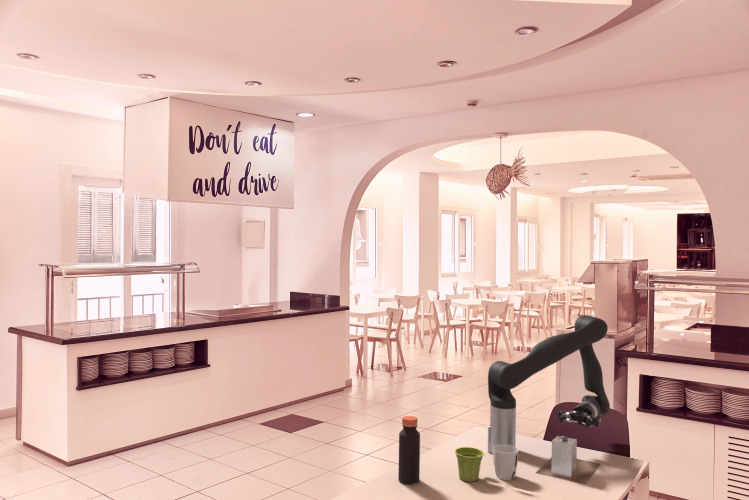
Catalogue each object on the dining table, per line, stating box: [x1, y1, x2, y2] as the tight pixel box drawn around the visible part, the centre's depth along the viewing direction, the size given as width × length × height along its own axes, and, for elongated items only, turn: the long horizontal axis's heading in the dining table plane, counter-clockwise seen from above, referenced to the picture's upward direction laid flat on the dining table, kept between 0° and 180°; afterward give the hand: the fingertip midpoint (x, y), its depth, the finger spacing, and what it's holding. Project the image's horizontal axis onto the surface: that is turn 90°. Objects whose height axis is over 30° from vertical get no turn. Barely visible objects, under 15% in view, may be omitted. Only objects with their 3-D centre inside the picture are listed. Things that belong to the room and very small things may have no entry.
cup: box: [492, 445, 519, 481], centre depth 184 cm, size 8×8×10 cm
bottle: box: [397, 415, 421, 485], centre depth 182 cm, size 7×7×20 cm
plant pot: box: [454, 446, 485, 483], centre depth 185 cm, size 9×9×9 cm
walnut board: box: [535, 456, 601, 485], centre depth 193 cm, size 16×22×1 cm
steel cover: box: [551, 435, 578, 479], centre depth 188 cm, size 6×6×12 cm
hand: (573, 422), depth 199 cm, fingers open, 8 cm apart
